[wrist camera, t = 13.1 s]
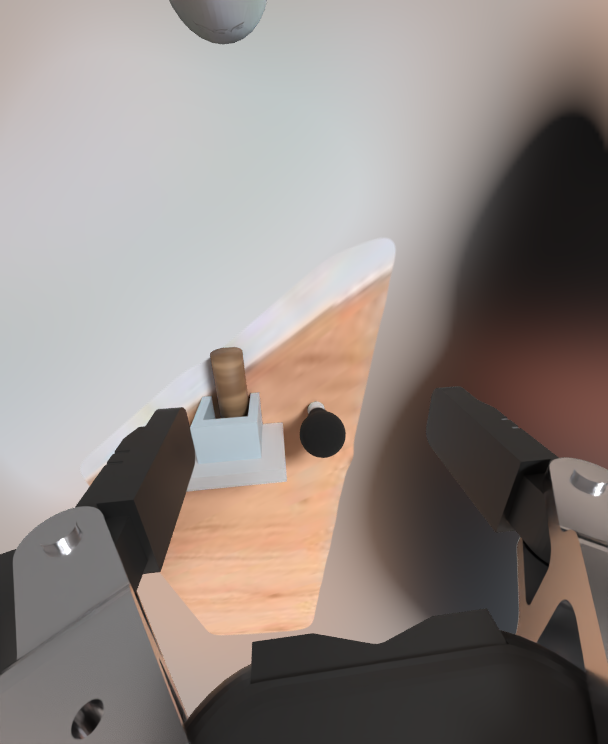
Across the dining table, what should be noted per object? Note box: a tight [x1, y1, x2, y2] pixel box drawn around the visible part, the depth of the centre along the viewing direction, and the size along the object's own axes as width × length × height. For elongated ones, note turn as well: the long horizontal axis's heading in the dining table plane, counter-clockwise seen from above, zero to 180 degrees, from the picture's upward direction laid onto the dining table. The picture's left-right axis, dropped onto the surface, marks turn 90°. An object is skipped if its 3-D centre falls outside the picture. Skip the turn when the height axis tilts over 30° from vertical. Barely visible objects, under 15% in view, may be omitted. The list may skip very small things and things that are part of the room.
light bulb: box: [300, 402, 346, 458], centre depth 40 cm, size 6×6×10 cm
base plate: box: [187, 422, 287, 491], centre depth 41 cm, size 2×14×10 cm, turn 91°
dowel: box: [210, 347, 249, 418], centre depth 40 cm, size 11×4×4 cm, turn 2°
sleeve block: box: [190, 393, 263, 464], centre depth 40 cm, size 6×8×8 cm
